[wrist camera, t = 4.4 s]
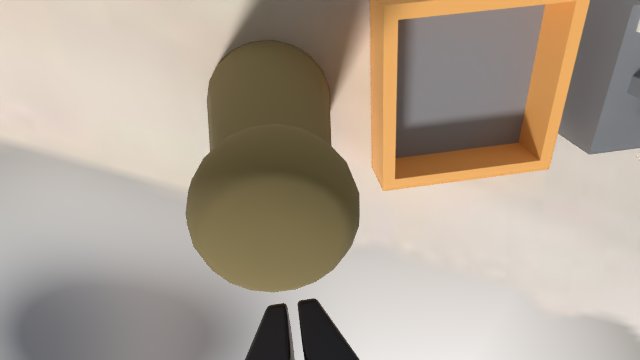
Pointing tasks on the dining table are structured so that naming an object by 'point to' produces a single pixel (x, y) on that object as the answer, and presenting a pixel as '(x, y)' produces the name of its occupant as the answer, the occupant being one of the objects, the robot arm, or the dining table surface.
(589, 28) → the breaker box
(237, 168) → the olive vase
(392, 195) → the dining table surface
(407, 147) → the orange square tray
